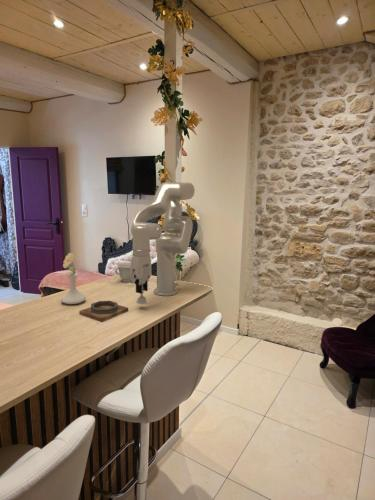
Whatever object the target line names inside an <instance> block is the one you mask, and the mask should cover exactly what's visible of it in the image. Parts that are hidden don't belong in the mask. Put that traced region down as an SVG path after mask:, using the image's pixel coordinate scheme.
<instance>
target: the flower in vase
mask: <svg viewBox="0 0 375 500" xmlns="http://www.w3.org/2000/svg"><path fill="white" fill-rule="evenodd" d="M74 259H75V255H74V253H73V252H68V254H67V255H65V258H64V260H63V264H62V268H63V269H68V270H69V271H70V272H71V273H67V274H66V276H67V277H68V279H69V282H70V289H69V290H68V291H67V292H66V293H65V294H63V296H61V299H60V301H61V303H63V304H66V305H76V304H80V303H82V302H85V300H86V299H87V297H86V295H85V294H84V293H82V292H81V291H79V290H78V289H77V288H76V280H77V277H78V276H79V274H78V273H76V269H75V266H74V264H73V262H74ZM71 265H72V266H71Z"/></svg>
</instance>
